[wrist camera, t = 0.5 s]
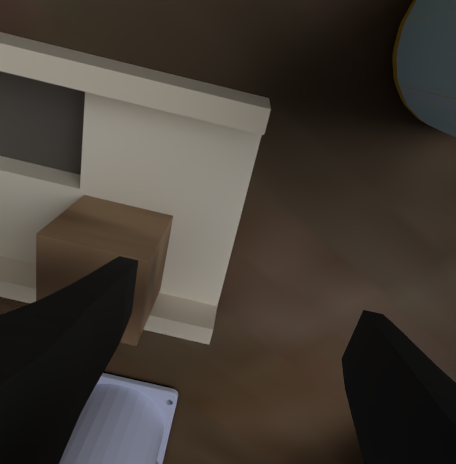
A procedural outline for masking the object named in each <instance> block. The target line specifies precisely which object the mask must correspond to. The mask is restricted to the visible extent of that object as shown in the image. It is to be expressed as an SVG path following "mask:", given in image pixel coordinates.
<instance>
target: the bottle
mask: <svg viewBox="0 0 456 464" xmlns="http://www.w3.org/2000/svg"><path fill="white" fill-rule="evenodd" d="M392 59H393V78H394V82H395V85H396V88H397V90H398V93H399V95H400V98H401V100H402V102H403V103H404V105H405V106H406V107H407V108H408V109H409V110H410V111H411V112H412V114H413V115H414V116H415V117H416V118H418V119H419V120H420V121H422V122H424V123H426V124H427V125H429V126H432V127H434V128H436V129H438V130H440V131H442V132H444V133H447V134H449V135H451V136H454V137H456V0H413V1H412V3H411V5H410V7H409V8H408V10H407V12H406V14H405V16H404V18H403V19H402V21H401V24H400V26H399V29H398V33H397V37H396V41H395V45H394V49H393V57H392Z"/></svg>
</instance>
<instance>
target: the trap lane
mask: <svg viewBox="0 0 456 464" xmlns="http://www.w3.org/2000/svg"><path fill="white" fill-rule="evenodd" d="M270 111H271V107H270V101H269V98H267V97H262V96H258V95H254V94H250V93H246V92H242V91H238V90H234V89H230V88H226V87H222V86H218V85H214V84H209V83H205V82H201V81H197V80H193V79H189V78H185V77H181V76H177V75H173V74H169V73H165V72H161V71H156V70H152V69H148V68H144V67H140V66H136V65H132V64H128V63H124V62H120V61H116V60H112V59H108V58H104V57H99V56H95V55H91V54H87V53H83V52H79V51H75V50H71V49H67V48H63V47H59V46H55V45H51V44H46V43H42V42H38V41H34V40H30V39H26V38H22V37H18V36H14V35H10V34H6V33H2V32H0V297H4V298H8V299H13V300H17V301H21V302H26V303H30V304H31V303H33V302H35V301H36V233H38V232H39V231H40V230H41V229H43V228H44V227H45V226H46V225H48V224H49V223H50V222H51V221H53V220H54V219H55V218H56V217H58V216H59V215H60V214H61V213H63V212H64V211H65V210H66V209H68V208H69V207H70V206H71V205H73V204H74V203H75V202H76V201H78V200H79V199H80V198H81V197H83V196H84V195H87V196H92V197H96V198H100V199H104V200H109V201H113V202H117V203H121V204H125V205H130V206H134V207H138V208H142V209H147V210H151V211H155V212H159V213H163V214H168V215H172V216H173V220H172V226H171V232H170V238H169V244H168V249H167V255H166V261H165V267H164V272H163V278H162V284H161V289H160V292H159V294H158V296H157V299H156V301H155V303H154V306H153V308H152V310H151V313H150V315H149V317H148V320H147V322H146V324H145V327H144V329H143V330H148V331H152V332H156V333H161V334H165V335H170V336H174V337H178V338H183V339H187V340H191V341H196V342H200V343H204V344H210V340H211V336H212V332H213V328H214V322H215V316H216V311H217V305H218V301H219V298H220V294H221V290H222V286H223V282H224V278H225V274H226V271H227V267H228V263H229V259H230V255H231V251H232V247H233V244H234V240H235V236H236V232H237V228H238V224H239V220H240V217H241V213H242V209H243V205H244V201H245V197H246V193H247V190H248V186H249V182H250V178H251V174H252V170H253V166H254V162H255V159H256V155H257V151H258V147H259V143H260V139H261V135H264V134H265V130H266V126H267V122H268V119H269V115H270Z"/></svg>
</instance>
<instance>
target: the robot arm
mask: <svg viewBox="0 0 456 464" xmlns="http://www.w3.org/2000/svg"><path fill="white" fill-rule="evenodd" d="M137 268H138V260H135V259H130V258H126V257H121V256H119V257H117V258H115V259H113V260H112V261H110V262H108V263H107V264H105V265H103V266H102V267H100V268H98V269H97V270H95V271H93V272H92V273H90V274H88V275H86V276H85V277H83V278H81V279H79V280H78V281H76V282H74V283H72V284H70V285H68V286H66V287H64V288H62V289H60V290H58V291H56V292H54V293H52V294H50V295H48V296H46V297H44V298H42V299H40V300H38V301H35V302H33V303H31V304H28V305H26V306H23V307H21V308H18V309H15V310H13V311H10V312H7V313H5V314H2V315H0V464H162V463H163V458H164V454H165V450H166V446H167V441H168V437H169V433H170V428H171V424H172V420H173V416H174V411H175V407H176V403H177V398H178V392H177V391H176V390H175V389H172V388H168V387H163V386H159V385H155V384H150V383H146V382H141V381H137V380H133V379H128V378H124V377H119V376H115V375H110V374H106V373H103V372H104V370H105V368H106V367H107V365H108V363H109V361H110V359H111V358H112V356H113V354H114V352H115V350H116V348H117V347H118V345H119V343H120V341H121V339H122V337H123V334H124V332H125V329H126V327H127V324H128V322H129V319H130V317H131V314H132V308H133V300H134V292H135V284H136V276H137ZM342 366H343V376H344V384H345V390H346V394H347V398H348V402H349V406H350V410H351V414H352V418H353V422H354V426H355V429H356V433H357V437H358V441H359V445H360V448H361V452H362V456H363V460H364V464H456V383H455V382H454V381H453V380H452V379H451V378H450V377H448V376H447V375H446V374H445V373H444V372H443V371H442V370H441V369H440V368H439V367H438V366H437V365H435V364H434V363H433V362H432V361H431V360H430V359H429V358H428V357H427V356H426V355H425V354H424V353H423V352H422V351H421V350H420V349H419V348H418V347H417V346H416V345H415V344H414V343H413V342H412V341H411V340H410V339H409V338H408V337H407V336H406V335H405V334H404V333H403V332H402V331H401V330H399V329H398V328H397V327H396V326H395V325H394V324H393V323H392V322H391V321H390V320H389V319H388V318H386V317H385V316H384V315H383V314H379V313H375V312H370V311H366V310H363V312H362V315H361V317H360V319H359V321H358V324H357V326H356V328H355V330H354V333H353V335H352V337H351V339H350V341H349V344H348V346H347V348H346V350H345V353H344V355H343V357H342ZM170 400H171V401H170Z"/></svg>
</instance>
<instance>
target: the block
mask: <svg viewBox="0 0 456 464" xmlns="http://www.w3.org/2000/svg"><path fill="white" fill-rule="evenodd" d="M172 220H173V216H172V215H168V214H163V213H159V212H155V211H151V210H147V209H142V208H138V207H134V206H130V205H125V204H121V203H117V202H113V201H109V200H104V199H100V198H96V197H92V196H87V195H84V196H83V197H81V198H80V199H79V200H78V201H76V202H75V203H74V204H73V205H71V206H70V207H69V208H68V209H66V210H65V211H64V212H63V213H61V214H60V215H59V216H58V217H56V218H55V219H54V220H53V221H51V222H50V223H49V224H48V225H46V226H45V227H44V228H43V229H41V230H40V231H39V232H38V233H36V301H38V300H40V299H42V298H44V297H46V296H48V295H50V294H52V293H54V292H56V291H58V290H60V289H62V288H64V287H66V286H68V285H70V284H72V283H74V282H76V281H78V280H79V279H81V278H83V277H85V276H86V275H88V274H90V273H92V272H93V271H95V270H97V269H98V268H100V267H102V266H103V265H105V264H107V263H108V262H110V261H112V260H113V259H115V258H117V257H119V256H121V257H126V258H130V259H135V260H138V268H137V276H136V284H135V292H134V300H133V308H132V314H131V317H130V319H129V322H128V324H127V327H126V329H125V332H124V334H123V337H122V339H121V341H120V342H121V343H125V344H129V345H134V346H137V343H138V341H139V338H140V336H141V334H142V331H143V329H144V327H145V324H146V322H147V320H148V317H149V315H150V313H151V310H152V308H153V306H154V303H155V301H156V299H157V296H158V294H159V292H160V289H161V284H162V278H163V272H164V267H165V261H166V255H167V249H168V244H169V238H170V232H171V226H172Z"/></svg>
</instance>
